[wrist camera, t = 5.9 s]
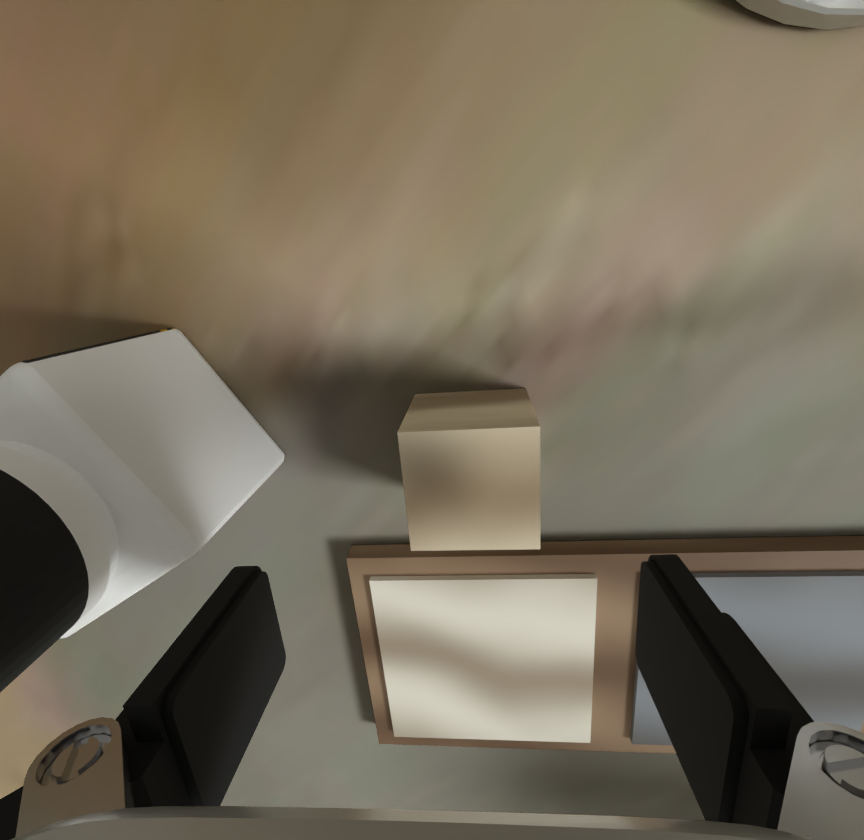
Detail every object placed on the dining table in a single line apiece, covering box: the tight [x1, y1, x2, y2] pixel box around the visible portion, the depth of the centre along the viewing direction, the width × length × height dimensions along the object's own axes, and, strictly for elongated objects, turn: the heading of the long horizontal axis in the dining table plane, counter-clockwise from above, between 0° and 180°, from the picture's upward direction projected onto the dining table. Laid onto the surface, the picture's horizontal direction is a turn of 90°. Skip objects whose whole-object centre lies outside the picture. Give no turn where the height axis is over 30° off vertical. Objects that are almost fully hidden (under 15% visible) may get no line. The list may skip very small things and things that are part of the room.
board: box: [346, 535, 864, 754], centre depth 21 cm, size 12×24×1 cm, turn 95°
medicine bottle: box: [0, 328, 285, 692], centre depth 15 cm, size 7×7×12 cm
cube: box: [397, 388, 540, 551], centre depth 17 cm, size 4×4×4 cm
